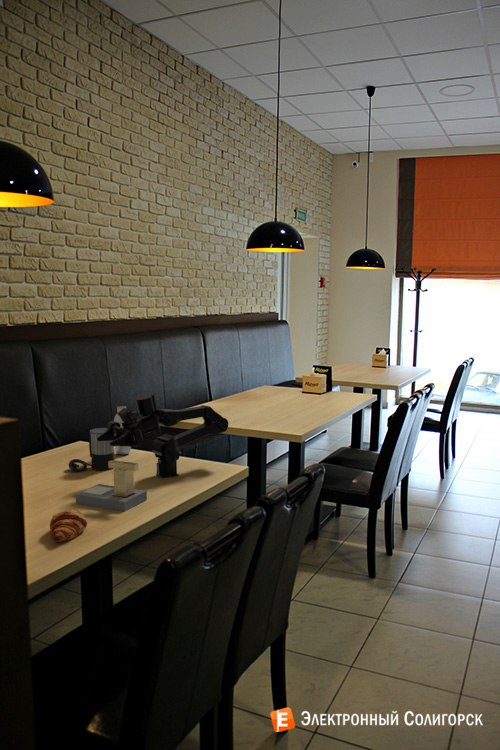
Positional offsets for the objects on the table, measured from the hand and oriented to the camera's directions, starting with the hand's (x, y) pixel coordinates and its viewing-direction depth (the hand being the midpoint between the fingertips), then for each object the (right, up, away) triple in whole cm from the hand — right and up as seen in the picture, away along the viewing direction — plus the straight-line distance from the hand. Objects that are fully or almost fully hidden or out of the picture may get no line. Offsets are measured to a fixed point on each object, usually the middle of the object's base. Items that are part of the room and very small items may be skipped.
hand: (103, 441), depth 220 cm
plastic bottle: (-3, -10, +49) cm, 51 cm away
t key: (+10, -18, -14) cm, 25 cm away
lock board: (+5, -18, -12) cm, 22 cm away
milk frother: (-11, -13, +27) cm, 32 cm away
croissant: (-1, -22, -37) cm, 43 cm away
